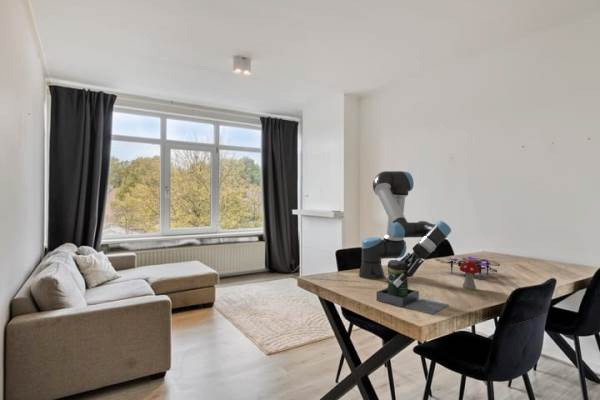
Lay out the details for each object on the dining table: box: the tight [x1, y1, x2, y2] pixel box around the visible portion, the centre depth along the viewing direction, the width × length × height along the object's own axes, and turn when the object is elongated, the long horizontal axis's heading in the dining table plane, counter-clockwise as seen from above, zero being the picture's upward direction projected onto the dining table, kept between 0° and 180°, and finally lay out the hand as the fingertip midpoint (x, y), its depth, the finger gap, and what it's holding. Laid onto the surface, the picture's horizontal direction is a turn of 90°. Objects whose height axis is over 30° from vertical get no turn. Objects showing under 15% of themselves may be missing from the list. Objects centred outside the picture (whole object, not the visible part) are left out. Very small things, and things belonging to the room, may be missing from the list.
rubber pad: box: [405, 298, 450, 315], centre depth 146 cm, size 12×16×1 cm
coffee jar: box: [387, 259, 409, 297], centre depth 155 cm, size 10×8×19 cm
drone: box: [434, 256, 501, 281], centre depth 205 cm, size 40×10×28 cm
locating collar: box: [376, 287, 420, 308], centre depth 156 cm, size 13×15×4 cm
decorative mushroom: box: [459, 260, 479, 291], centre depth 174 cm, size 10×9×15 cm
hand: (391, 282), depth 155 cm, fingers closed on coffee jar, 9 cm apart
